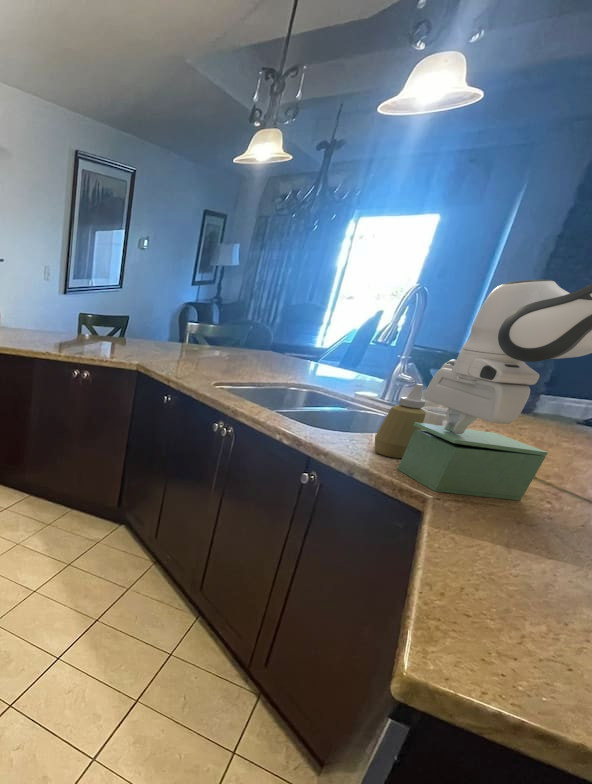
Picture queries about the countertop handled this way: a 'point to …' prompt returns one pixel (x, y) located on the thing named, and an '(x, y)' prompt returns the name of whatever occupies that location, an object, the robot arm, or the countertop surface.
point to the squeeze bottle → (400, 424)
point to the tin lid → (481, 439)
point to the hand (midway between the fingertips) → (453, 432)
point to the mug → (435, 416)
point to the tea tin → (468, 467)
